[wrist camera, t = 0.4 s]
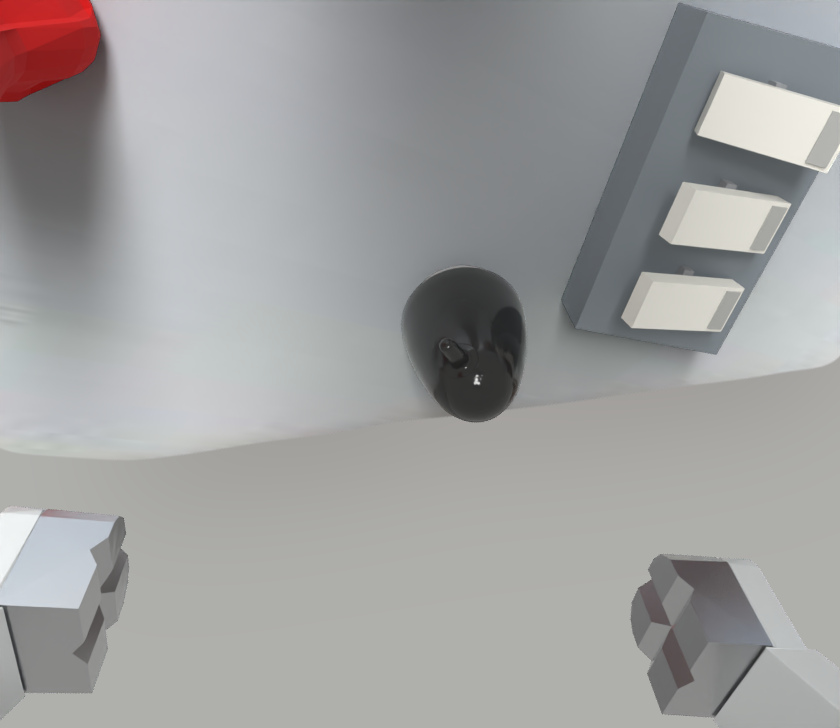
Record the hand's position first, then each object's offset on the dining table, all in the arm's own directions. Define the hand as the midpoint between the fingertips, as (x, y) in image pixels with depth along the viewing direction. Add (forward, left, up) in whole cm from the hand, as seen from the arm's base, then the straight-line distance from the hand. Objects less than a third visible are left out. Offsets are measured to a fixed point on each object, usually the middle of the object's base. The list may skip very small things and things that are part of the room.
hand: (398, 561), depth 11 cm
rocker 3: (+11, +27, -39) cm, 48 cm away
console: (+5, +27, -46) cm, 53 cm away
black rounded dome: (+18, +11, -46) cm, 51 cm away
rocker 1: (-3, +27, -39) cm, 47 cm away
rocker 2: (+4, +27, -39) cm, 47 cm away
